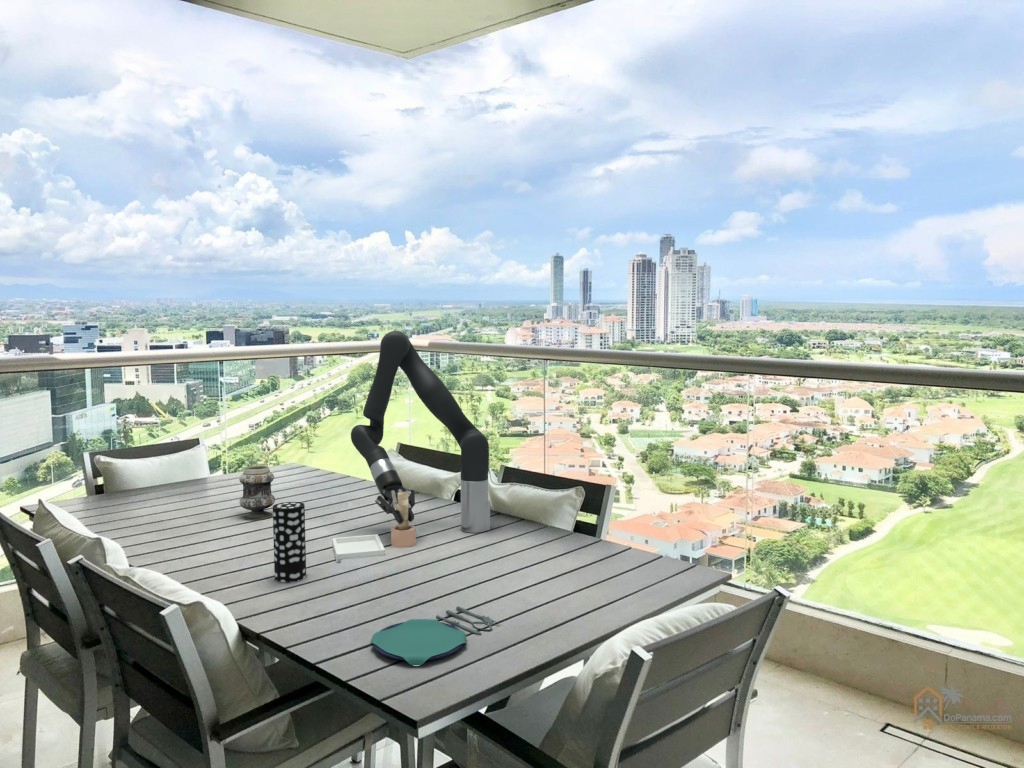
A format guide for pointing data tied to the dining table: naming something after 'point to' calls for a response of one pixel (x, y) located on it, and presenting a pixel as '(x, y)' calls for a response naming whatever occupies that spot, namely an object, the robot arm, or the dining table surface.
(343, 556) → the tray
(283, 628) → the dining table surface
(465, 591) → the dining table surface
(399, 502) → the wooden pin
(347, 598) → the dining table surface
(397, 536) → the holder cup
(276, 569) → the spotted tube
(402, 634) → the cutlery set
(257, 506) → the apothecary jar
